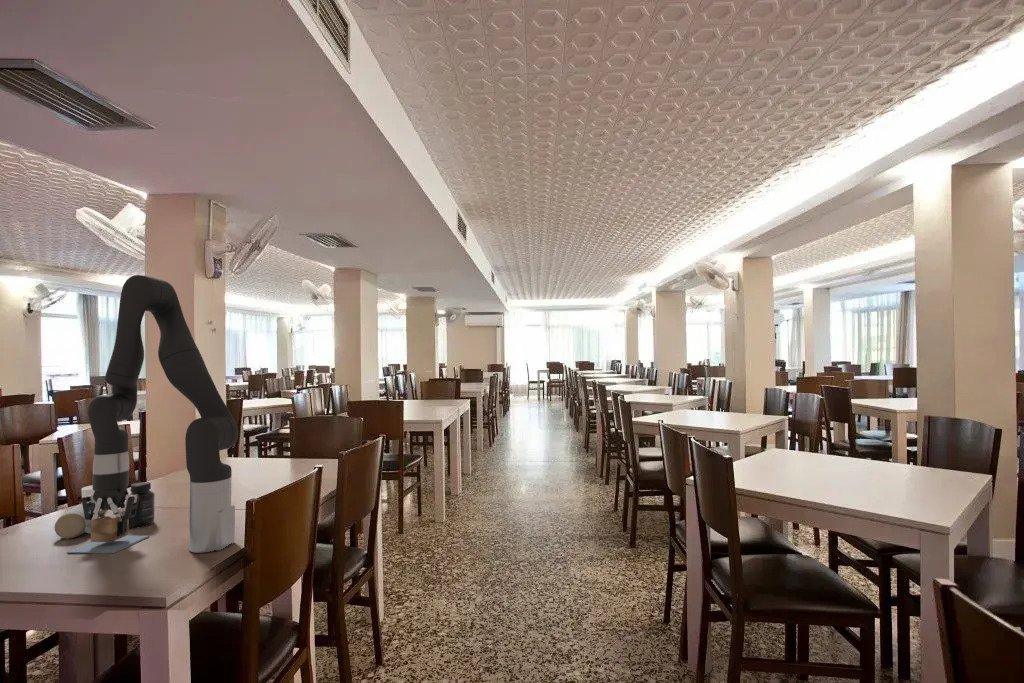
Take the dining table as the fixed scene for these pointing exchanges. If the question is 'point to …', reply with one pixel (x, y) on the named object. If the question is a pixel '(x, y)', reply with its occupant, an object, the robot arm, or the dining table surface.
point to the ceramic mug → (73, 523)
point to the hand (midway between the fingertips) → (110, 535)
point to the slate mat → (108, 545)
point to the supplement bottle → (143, 505)
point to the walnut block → (106, 529)
